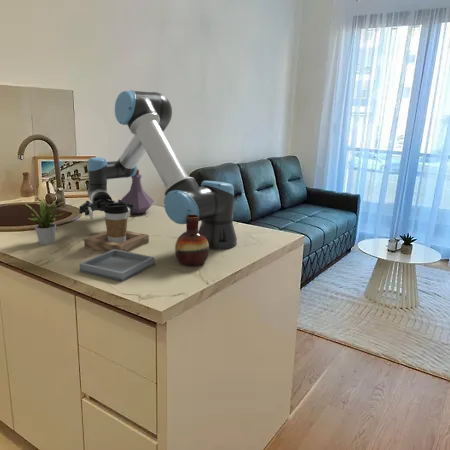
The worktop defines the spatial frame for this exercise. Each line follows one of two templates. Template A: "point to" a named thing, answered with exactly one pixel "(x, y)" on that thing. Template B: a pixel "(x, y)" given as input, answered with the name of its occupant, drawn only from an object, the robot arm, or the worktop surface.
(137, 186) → the flask
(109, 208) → the coffee cup
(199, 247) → the vase
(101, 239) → the square wooden frame
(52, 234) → the house plant
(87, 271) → the tray
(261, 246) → the worktop surface
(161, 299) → the worktop surface
